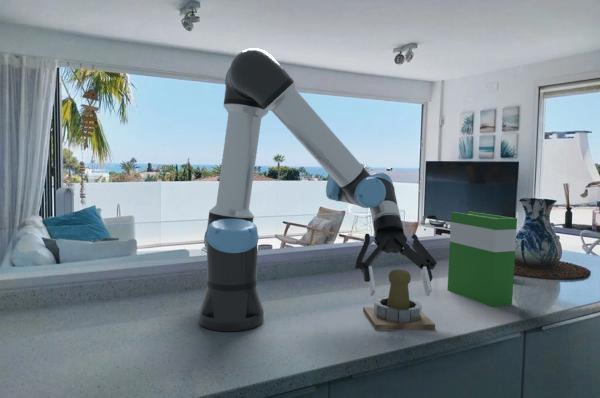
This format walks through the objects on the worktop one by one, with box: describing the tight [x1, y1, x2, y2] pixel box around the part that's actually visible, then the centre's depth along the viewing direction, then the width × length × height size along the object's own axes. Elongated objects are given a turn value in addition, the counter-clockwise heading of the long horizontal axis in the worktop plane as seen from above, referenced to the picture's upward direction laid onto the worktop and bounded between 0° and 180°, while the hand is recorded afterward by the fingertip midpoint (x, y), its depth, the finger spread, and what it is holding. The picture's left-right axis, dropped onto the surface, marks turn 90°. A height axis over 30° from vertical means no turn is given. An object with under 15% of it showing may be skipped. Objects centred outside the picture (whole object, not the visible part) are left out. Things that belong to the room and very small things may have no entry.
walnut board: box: [362, 306, 436, 331], centre depth 112 cm, size 14×13×1 cm
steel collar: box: [373, 296, 423, 323], centre depth 112 cm, size 11×11×3 cm
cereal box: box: [447, 211, 518, 308], centre depth 134 cm, size 18×7×24 cm, turn 23°
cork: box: [387, 269, 412, 309], centre depth 112 cm, size 6×6×11 cm
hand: (401, 292), depth 109 cm, fingers open, 13 cm apart
